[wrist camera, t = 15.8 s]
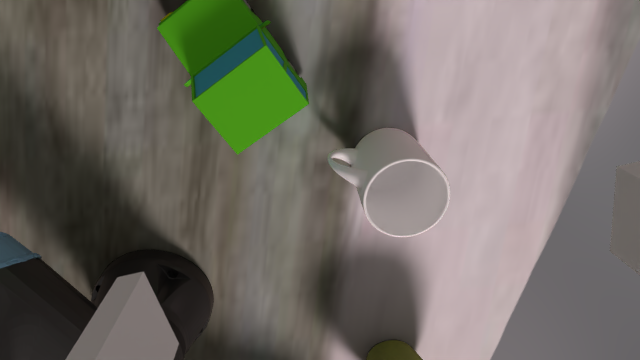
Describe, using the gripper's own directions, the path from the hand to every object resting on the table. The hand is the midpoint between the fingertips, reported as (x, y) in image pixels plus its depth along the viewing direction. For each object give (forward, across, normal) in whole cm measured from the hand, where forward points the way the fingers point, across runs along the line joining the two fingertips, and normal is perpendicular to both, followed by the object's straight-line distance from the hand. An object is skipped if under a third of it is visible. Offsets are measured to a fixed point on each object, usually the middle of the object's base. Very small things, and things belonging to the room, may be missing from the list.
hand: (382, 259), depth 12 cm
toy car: (+37, -8, +3) cm, 38 cm away
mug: (+37, +4, -12) cm, 39 cm away
